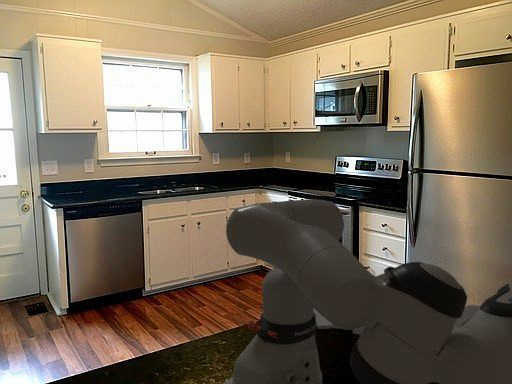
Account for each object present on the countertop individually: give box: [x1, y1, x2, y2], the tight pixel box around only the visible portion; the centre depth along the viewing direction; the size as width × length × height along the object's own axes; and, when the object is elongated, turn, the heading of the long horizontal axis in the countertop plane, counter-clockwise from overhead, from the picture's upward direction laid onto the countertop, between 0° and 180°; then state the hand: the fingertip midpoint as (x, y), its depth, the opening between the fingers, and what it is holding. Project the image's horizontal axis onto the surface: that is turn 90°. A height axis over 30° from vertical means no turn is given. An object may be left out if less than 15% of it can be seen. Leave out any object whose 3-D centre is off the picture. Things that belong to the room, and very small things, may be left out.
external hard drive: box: [314, 308, 340, 330], centre depth 125 cm, size 2×8×12 cm
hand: (433, 316), depth 112 cm, fingers closed on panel, 5 cm apart
